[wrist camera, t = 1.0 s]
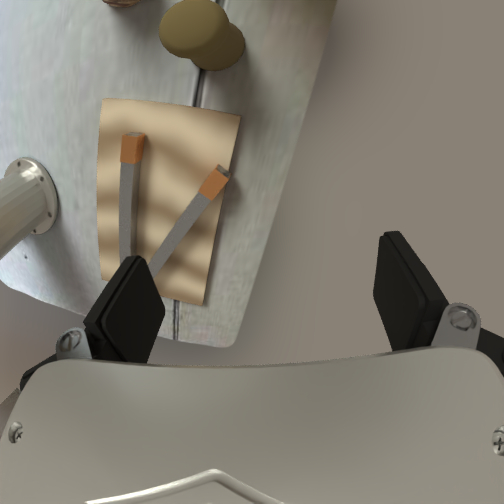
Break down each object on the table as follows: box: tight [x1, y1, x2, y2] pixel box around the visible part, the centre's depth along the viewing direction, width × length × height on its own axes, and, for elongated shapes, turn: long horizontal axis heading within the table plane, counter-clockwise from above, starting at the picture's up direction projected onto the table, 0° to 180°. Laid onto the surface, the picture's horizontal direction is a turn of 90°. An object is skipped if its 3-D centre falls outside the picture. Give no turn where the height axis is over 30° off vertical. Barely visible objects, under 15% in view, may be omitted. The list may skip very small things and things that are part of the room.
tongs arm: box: [148, 164, 232, 279], centre depth 33 cm, size 20×3×2 cm, turn 142°
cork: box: [159, 0, 245, 71], centre depth 19 cm, size 6×6×11 cm
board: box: [97, 98, 241, 306], centre depth 33 cm, size 26×16×1 cm, turn 167°
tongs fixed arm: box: [119, 132, 145, 265], centre depth 31 cm, size 18×2×2 cm, turn 167°
